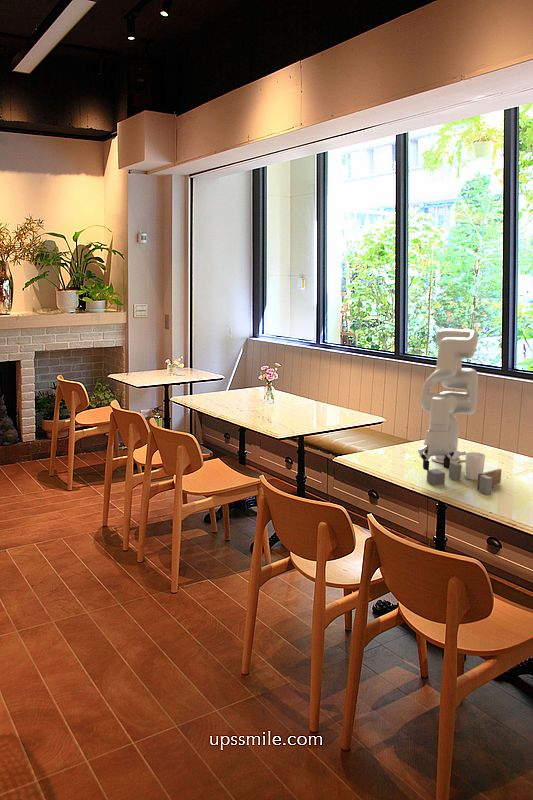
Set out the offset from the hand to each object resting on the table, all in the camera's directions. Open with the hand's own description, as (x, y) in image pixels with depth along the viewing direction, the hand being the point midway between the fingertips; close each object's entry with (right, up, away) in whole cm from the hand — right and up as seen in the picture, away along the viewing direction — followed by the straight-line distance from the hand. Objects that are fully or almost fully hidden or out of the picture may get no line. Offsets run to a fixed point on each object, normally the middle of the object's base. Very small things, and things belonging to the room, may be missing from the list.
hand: (436, 468), depth 304 cm
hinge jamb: (+17, -8, -11) cm, 21 cm away
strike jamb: (+10, -5, +8) cm, 13 cm away
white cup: (+18, -5, +10) cm, 21 cm away
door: (+20, -7, -4) cm, 22 cm away
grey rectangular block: (0, -6, +2) cm, 6 cm away
